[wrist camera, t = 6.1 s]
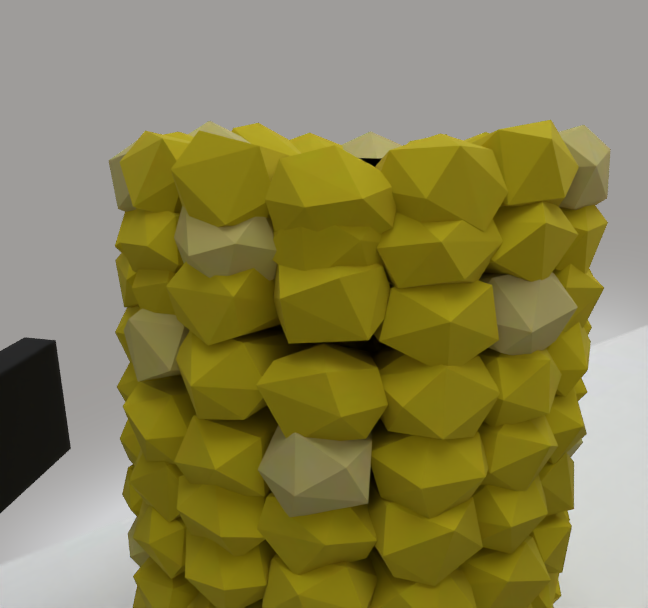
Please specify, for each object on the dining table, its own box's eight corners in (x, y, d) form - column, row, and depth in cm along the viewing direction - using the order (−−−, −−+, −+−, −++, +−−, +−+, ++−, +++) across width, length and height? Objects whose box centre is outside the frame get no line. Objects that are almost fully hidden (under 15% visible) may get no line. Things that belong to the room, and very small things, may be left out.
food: (101, 958, 12) (244, 585, 21) (776, 1001, 9) (594, 561, 19) (-233, 174, 8) (121, 151, 18) (736, -76, 6) (536, 55, 15)
